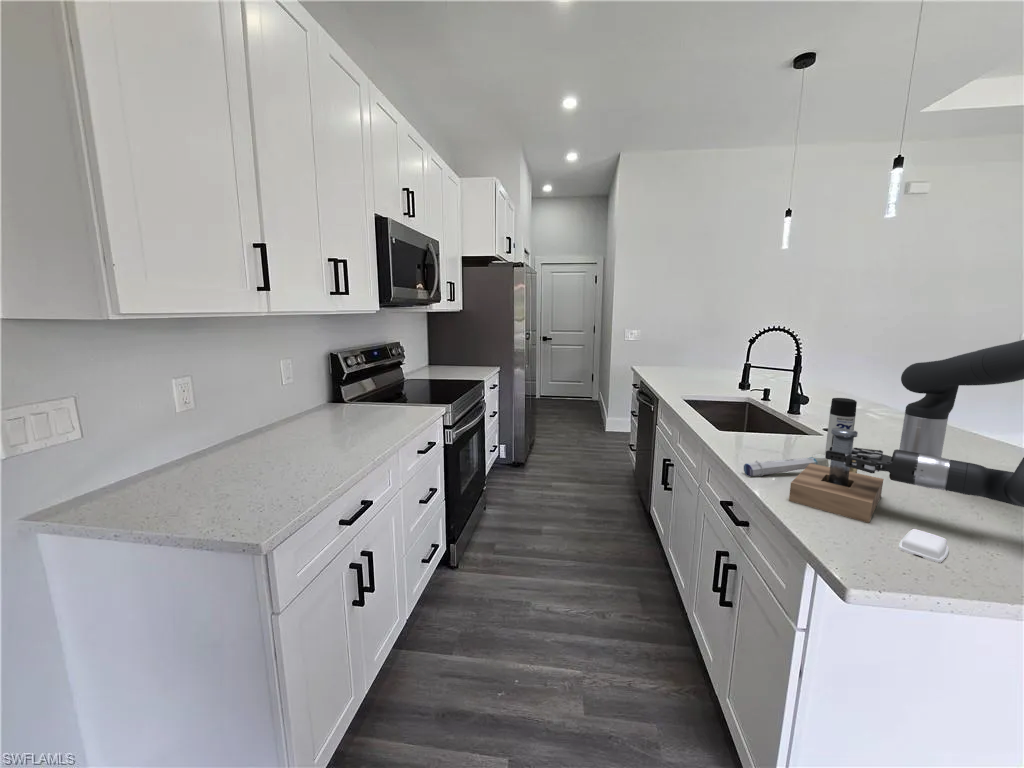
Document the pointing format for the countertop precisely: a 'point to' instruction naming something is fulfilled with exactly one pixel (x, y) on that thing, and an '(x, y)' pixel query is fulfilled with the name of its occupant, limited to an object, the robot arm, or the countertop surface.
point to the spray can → (840, 417)
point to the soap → (924, 545)
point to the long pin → (843, 445)
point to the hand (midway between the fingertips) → (828, 452)
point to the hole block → (837, 493)
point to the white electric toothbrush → (783, 465)
